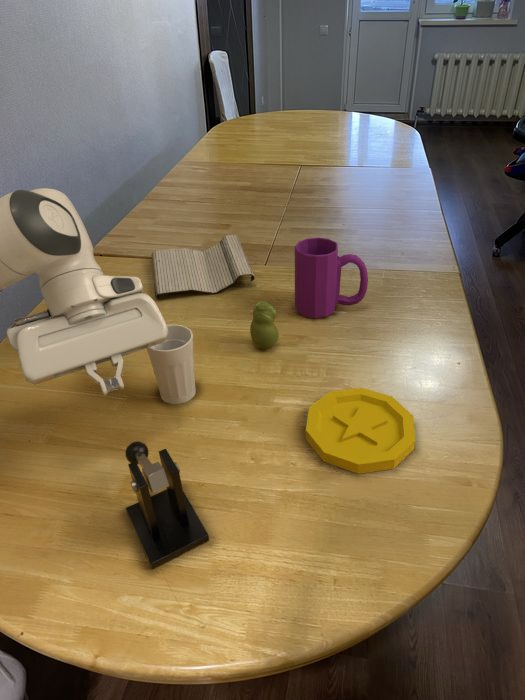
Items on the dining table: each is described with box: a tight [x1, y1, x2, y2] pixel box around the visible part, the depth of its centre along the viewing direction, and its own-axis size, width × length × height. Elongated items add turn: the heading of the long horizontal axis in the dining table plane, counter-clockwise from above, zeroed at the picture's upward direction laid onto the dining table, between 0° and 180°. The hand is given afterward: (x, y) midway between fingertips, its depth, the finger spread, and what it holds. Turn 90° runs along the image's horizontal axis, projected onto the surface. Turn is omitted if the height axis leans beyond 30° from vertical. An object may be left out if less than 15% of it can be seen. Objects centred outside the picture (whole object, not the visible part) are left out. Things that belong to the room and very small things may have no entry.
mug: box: [294, 237, 369, 319], centre depth 110 cm, size 9×16×15 cm, turn 84°
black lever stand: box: [125, 448, 210, 570], centre depth 67 cm, size 10×8×12 cm
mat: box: [151, 234, 256, 299], centre depth 129 cm, size 23×24×5 cm
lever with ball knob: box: [124, 441, 169, 494], centre depth 69 cm, size 13×3×3 cm, turn 30°
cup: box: [146, 323, 197, 405], centre depth 90 cm, size 8×8×12 cm
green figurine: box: [249, 300, 279, 350], centre depth 101 cm, size 6×5×10 cm
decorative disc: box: [305, 387, 417, 475], centre depth 83 cm, size 17×18×2 cm
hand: (114, 391), depth 72 cm, fingers closed
